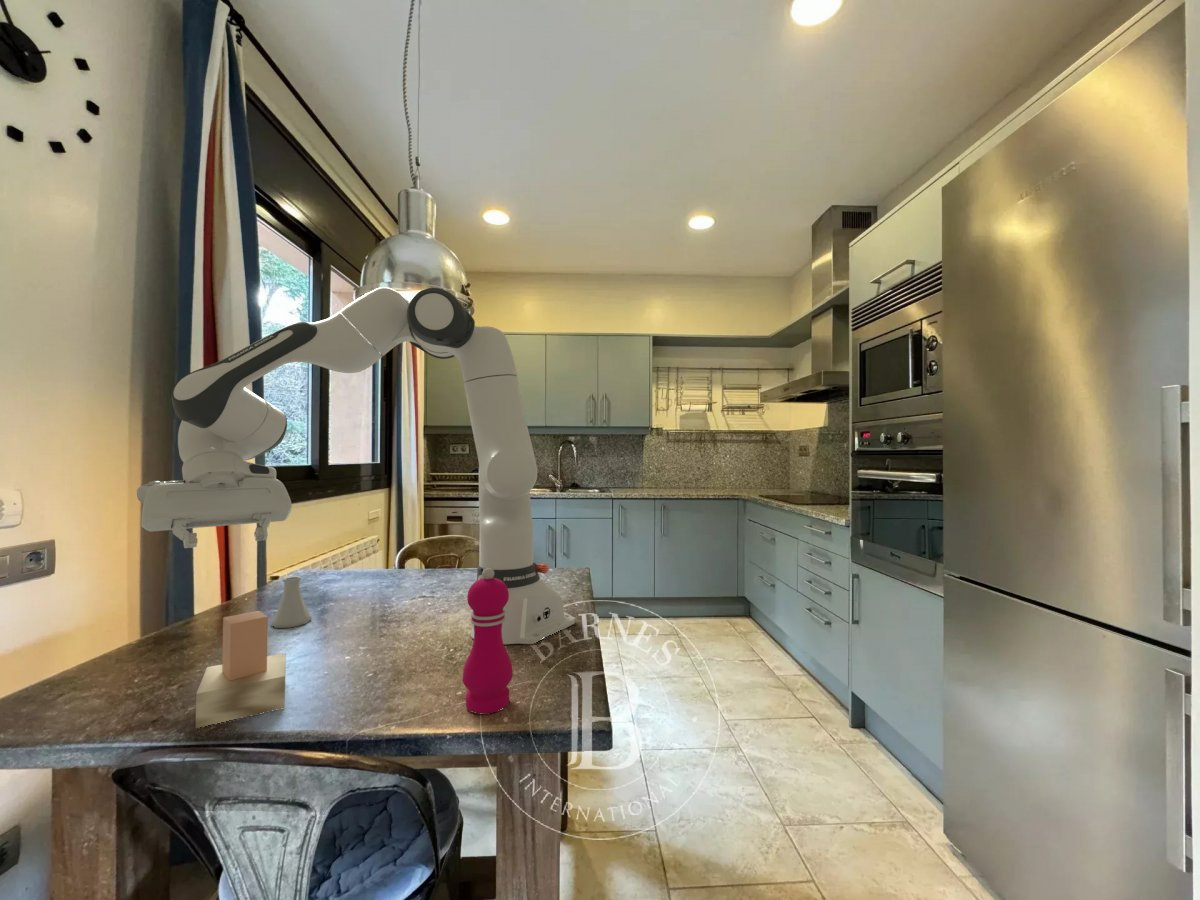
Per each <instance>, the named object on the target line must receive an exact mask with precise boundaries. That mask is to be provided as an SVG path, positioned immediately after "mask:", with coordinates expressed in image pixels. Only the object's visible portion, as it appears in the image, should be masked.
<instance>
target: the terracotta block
mask: <svg viewBox="0 0 1200 900" xmlns="http://www.w3.org/2000/svg"><path fill="white" fill-rule="evenodd" d="M268 619H269V616H268V615H267V614H265V613H264V612H262V611H261V610H255V611H249V612H246V613H245V612H243V613H239V614H234V615H229V616H224V617H223V618H222V655H221V656H222V659H221V660H222V661H221V663H222V664H221V665H222V672H223V674H224V675H225V676H226V677H227V678H228V680H229V681H231V680H235V679H239V678H242V677H246V676H250V675H253V674H257V673H261V672H264V671H267V656H268Z"/></svg>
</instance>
